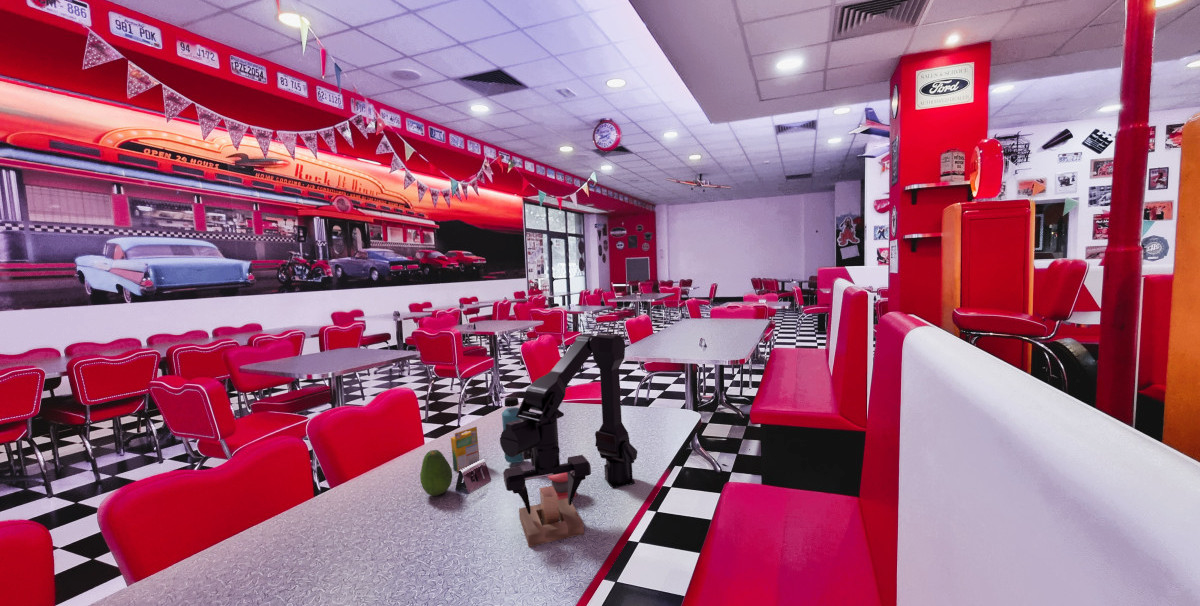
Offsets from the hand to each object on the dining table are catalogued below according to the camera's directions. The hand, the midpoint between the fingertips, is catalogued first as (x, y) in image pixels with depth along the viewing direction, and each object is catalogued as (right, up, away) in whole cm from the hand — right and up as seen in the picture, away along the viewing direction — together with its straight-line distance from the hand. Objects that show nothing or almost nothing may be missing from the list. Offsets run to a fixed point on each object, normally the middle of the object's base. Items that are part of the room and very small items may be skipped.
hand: (549, 508), depth 106 cm
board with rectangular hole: (0, -4, 0) cm, 4 cm away
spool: (+2, -3, +14) cm, 15 cm away
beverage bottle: (-14, -2, +36) cm, 38 cm away
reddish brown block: (0, -4, 0) cm, 4 cm away
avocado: (-31, -4, +18) cm, 36 cm away
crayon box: (-28, -3, +35) cm, 45 cm away
